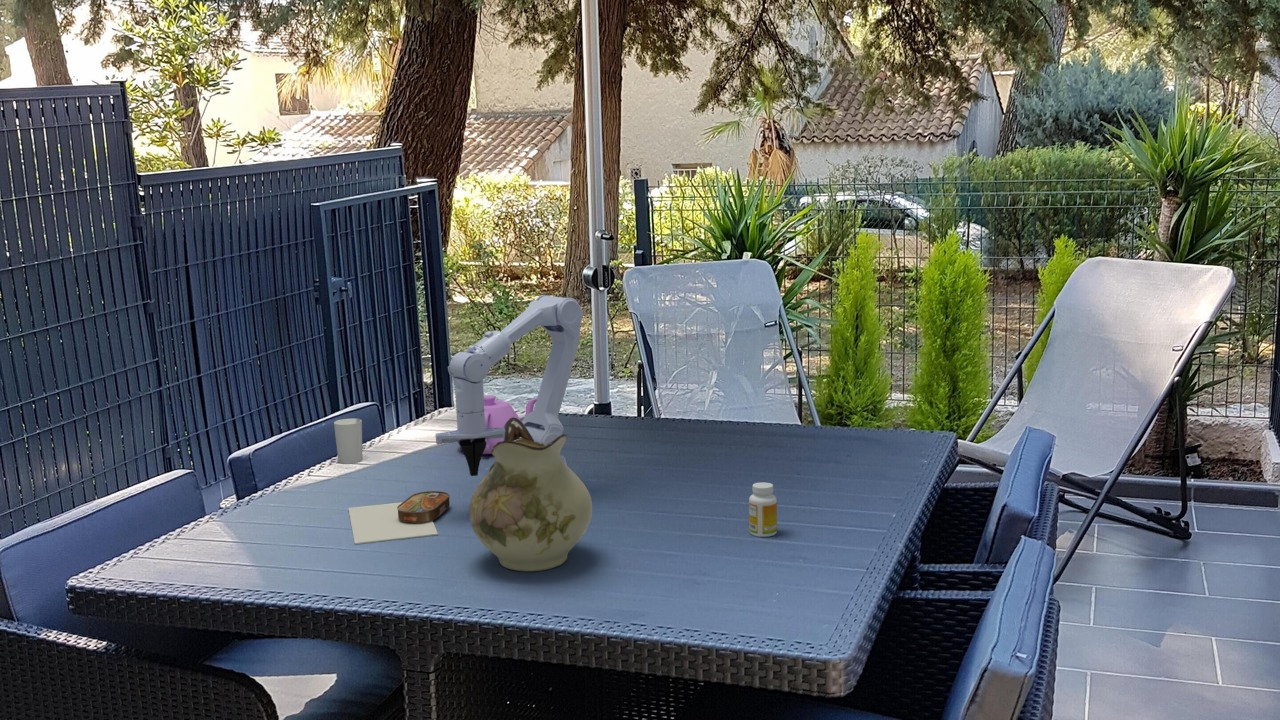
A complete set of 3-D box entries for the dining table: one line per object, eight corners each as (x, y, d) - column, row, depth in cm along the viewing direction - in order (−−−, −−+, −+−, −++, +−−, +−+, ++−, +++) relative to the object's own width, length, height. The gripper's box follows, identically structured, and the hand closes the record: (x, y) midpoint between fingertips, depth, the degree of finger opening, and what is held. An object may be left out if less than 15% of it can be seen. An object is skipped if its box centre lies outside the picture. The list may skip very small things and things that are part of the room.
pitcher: (545, 590, 199) (539, 449, 195) (441, 567, 212) (433, 433, 207) (616, 551, 218) (613, 421, 213) (517, 532, 230) (511, 409, 226)
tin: (429, 512, 234) (390, 508, 236) (429, 527, 235) (390, 523, 236) (455, 491, 249) (418, 487, 250) (455, 505, 249) (418, 501, 251)
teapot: (538, 459, 284) (536, 404, 282) (450, 461, 285) (447, 406, 282) (546, 437, 306) (544, 386, 304) (464, 439, 306) (462, 387, 304)
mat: (424, 501, 252) (424, 499, 252) (437, 535, 229) (437, 533, 229) (348, 509, 248) (348, 507, 248) (354, 544, 225) (354, 543, 225)
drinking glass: (370, 459, 288) (367, 420, 286) (350, 465, 282) (347, 425, 281) (350, 456, 291) (348, 417, 290) (330, 462, 286) (328, 422, 284)
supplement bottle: (779, 529, 228) (779, 482, 226) (773, 538, 223) (773, 489, 221) (752, 527, 230) (752, 480, 228) (746, 536, 225) (745, 487, 223)
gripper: (502, 403, 243) (505, 466, 246) (432, 409, 240) (436, 473, 242) (508, 410, 237) (511, 474, 239) (436, 416, 233) (440, 482, 235)
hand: (473, 474), depth 240 cm, fingers closed
